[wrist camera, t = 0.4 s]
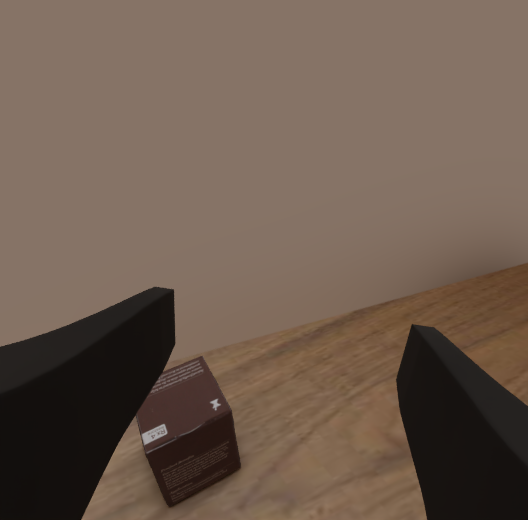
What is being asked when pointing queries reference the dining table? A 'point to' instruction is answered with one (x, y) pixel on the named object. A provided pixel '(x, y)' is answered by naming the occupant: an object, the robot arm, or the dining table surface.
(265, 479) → the dining table surface
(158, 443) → the box
